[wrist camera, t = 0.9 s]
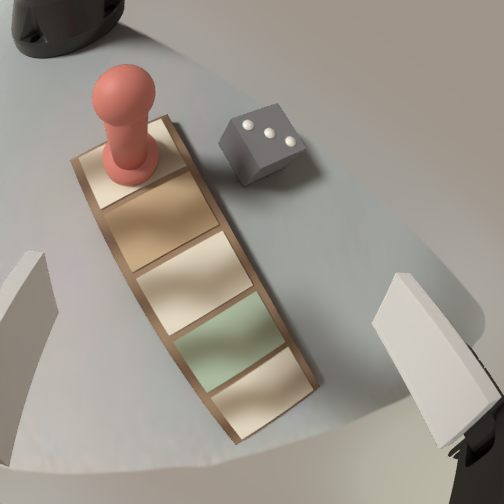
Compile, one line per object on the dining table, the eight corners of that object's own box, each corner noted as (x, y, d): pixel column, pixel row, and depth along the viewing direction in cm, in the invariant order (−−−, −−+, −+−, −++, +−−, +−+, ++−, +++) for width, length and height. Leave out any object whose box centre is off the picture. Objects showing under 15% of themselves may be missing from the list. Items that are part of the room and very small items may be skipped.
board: (73, 165, 25) (69, 159, 23) (166, 120, 28) (167, 113, 26) (232, 439, 26) (236, 446, 25) (314, 383, 29) (321, 387, 28)
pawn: (97, 151, 24) (70, 66, 13) (144, 128, 26) (147, 36, 14) (117, 196, 24) (94, 127, 13) (166, 171, 26) (180, 91, 14)
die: (218, 143, 29) (231, 118, 24) (260, 127, 31) (278, 102, 26) (243, 187, 30) (260, 168, 25) (284, 167, 31) (306, 148, 26)
